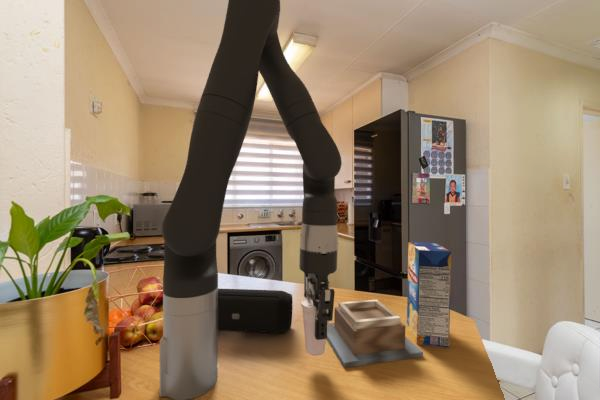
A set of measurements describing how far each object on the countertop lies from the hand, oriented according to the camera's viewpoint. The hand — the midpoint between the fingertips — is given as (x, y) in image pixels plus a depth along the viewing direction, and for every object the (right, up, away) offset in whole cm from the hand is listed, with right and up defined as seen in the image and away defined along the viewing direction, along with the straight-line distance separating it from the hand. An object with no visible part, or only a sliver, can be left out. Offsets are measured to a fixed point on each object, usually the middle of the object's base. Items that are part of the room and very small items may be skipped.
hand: (316, 329), depth 54 cm
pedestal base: (+13, -7, +10) cm, 17 cm away
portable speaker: (-18, -7, +15) cm, 25 cm away
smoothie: (0, -4, 0) cm, 4 cm away
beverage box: (+28, -8, +13) cm, 32 cm away
